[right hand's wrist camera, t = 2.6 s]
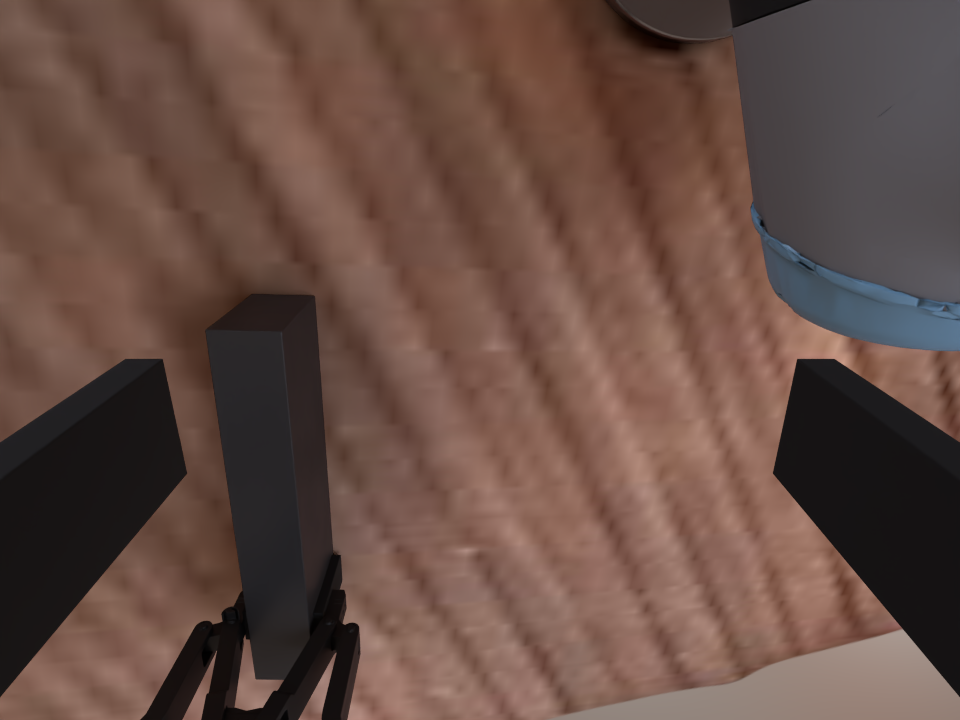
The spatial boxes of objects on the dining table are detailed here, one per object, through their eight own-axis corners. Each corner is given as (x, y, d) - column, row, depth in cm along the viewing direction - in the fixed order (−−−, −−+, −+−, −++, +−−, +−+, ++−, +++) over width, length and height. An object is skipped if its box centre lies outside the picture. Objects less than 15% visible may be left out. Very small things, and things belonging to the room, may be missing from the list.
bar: (251, 293, 43) (204, 329, 35) (315, 295, 43) (281, 331, 35) (285, 601, 53) (255, 679, 46) (336, 602, 53) (314, 680, 46)
